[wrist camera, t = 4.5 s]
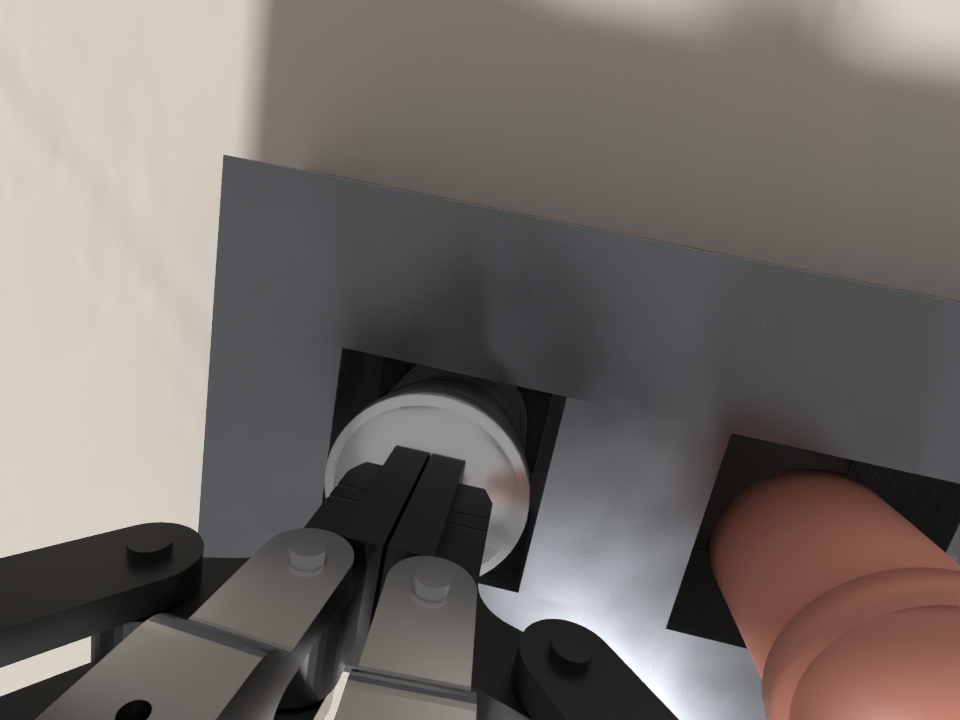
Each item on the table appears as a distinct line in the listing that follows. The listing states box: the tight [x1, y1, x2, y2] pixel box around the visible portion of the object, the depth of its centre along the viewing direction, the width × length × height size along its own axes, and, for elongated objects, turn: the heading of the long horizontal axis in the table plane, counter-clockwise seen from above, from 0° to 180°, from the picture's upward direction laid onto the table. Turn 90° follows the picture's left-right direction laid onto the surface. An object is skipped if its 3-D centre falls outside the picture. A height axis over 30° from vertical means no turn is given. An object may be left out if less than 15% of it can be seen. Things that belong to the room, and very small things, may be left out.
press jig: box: [198, 155, 960, 720], centre depth 14 cm, size 12×28×4 cm, turn 79°
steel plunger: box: [325, 364, 530, 576], centre depth 14 cm, size 4×4×4 cm
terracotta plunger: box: [709, 469, 960, 720], centre depth 11 cm, size 4×4×4 cm
